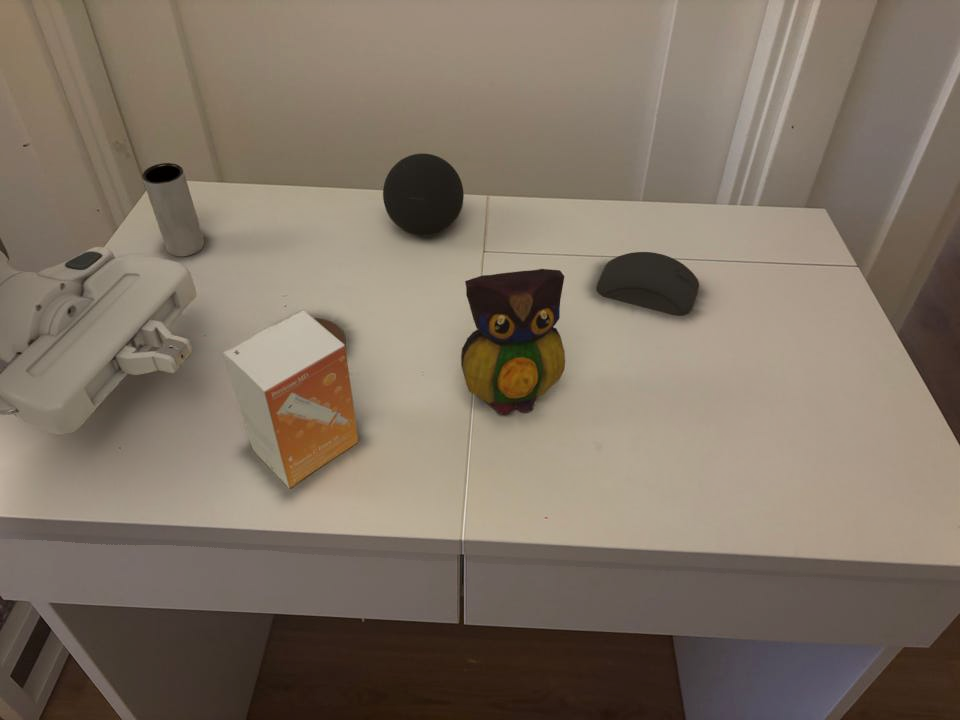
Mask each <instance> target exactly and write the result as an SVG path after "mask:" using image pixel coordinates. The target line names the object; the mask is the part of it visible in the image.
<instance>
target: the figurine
mask: <svg viewBox="0 0 960 720" xmlns="http://www.w3.org/2000/svg"><path fill="white" fill-rule="evenodd" d="M565 278H566V277H565V275H564V274H563V273H562V271H561V270H560V269H548V268H547V269H546V268H538V269H531V270H520V271H519V270H518V271H511V272H502V273H494V274H483V275H479V276H476V277H473V278H470V279H467V280H465V281H464V283H465V287H466V288H465V292H466V293H465V294H466V295H465V296H466V299H467V301H468V305H469V309H470V313H471V315H472V319H473V322H474V326H475V328H476V330H474V331H472V333H470V335H469V336H468V337H467V338H466V340H465V342H464V344H463V346H462V349H461V356H460V365H461V370H462V373H463V377H464V378H463V379H464V382H465V385H466V387H467V390H468V392H469V393H471V394H473V395H475V396H477V397H478V398H480V399H481V400H482V401H484V402H485V403H487V404H489V406H491V407H492V408H493V409H494V410H495V412H497V414H499V415H505V416H509V415H510V414H511V413H512V412H513V411H514V408H515V409H517V411H520V412H523V413H527V412H529V411H532V410H533V409H534V405H535V403H536V400H537V399H538V398H539V397H540V396H543V395H544V394H545V393H546V392H547V391H548V390H550V389H551V387H553V386H554V385H555V384H556V383H558V382H559V380H560V379H561V378H562V376H563V373H564V372H565V368H566V367H565V366H566V354H565V353H566V352H565V349H564V348H565V347H564V344H563V340H562V338H561V334H560V333H559V331H558V329H557V328H556V327H555V326H556V324H557V323H558V321H559V320H560V319H561V318H560V316H561V315H560V314H561V313H560V311H561V299H562V293H563V287H564V281H565Z"/></svg>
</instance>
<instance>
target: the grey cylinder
mask: <svg viewBox="0 0 960 720" xmlns="http://www.w3.org/2000/svg"><path fill="white" fill-rule="evenodd" d="M141 179H142V182H143V184H144V187H145V191H146V193H147V197H148V199H149V202H150V205H151V208H152V211H153V214H154V217H155V219H156V223H157V225H158V229H159V232H160V234H161V237H162V240H163V243H164V247H165V249H166V251H167V252H168V253H169V254H170V255H172V256H175V257H188V256H191V255H195V254H196V253H199V252H200V251H201V250H202V249H203V248H204V246H205V240H204V235H203V232H202V228H201V225H200V222H199V218H198V215H197V212H196V208H195V205H194V201H193V198H192V195H191V192H190V191H191V190H190V188H189V184H188V181H187V178H186V174H185V171H184V168H182V166H181V165H179V164H176V163H171V162H164V163H157V164H153V165H151V166H149V167H148V168H146V169H145V170H144V171H143V172H142V174H141Z"/></svg>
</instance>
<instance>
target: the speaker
mask: <svg viewBox="0 0 960 720" xmlns="http://www.w3.org/2000/svg"><path fill="white" fill-rule="evenodd" d="M385 177H386V178H385V180H384V182H383V183H384V184H383V188H382V200H383V205H384V208H385V211H386V213H387V215H388V216H389V218H390V220H391V221H392V222H393V223H394V224H395V225H396V226H397V227H398V228H399V229H401V230H402V231H404V232H406V233H409V234H411V235H414V236H420V237H429V236H434V235H437V234H439V233H442V232H444V231H446V230H447V229H448V228H450V227H451V226H452V225H453V224H454V223H455V221H456V220H457V218H458V216H460V214H461V211H462V208H463V205H464V199H465V197H464V195H465V194H464V187H463V183H462V179H461V177H460V175H459V174H458V172H457V170H456V169H455V167H453V165H451V164H450V163H449V162H448V161H447V160H445V159H444V158H442V157H440V156H438V155H435V154H431V153H423V152H422V153H414V154H411V155H408V156H406V157H404V158H401V159H400V160H398V161H397V163H395V164H394V165H393V166H392V168H391V169H390V170H389V172H388V173H387V175H386V176H385Z"/></svg>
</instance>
